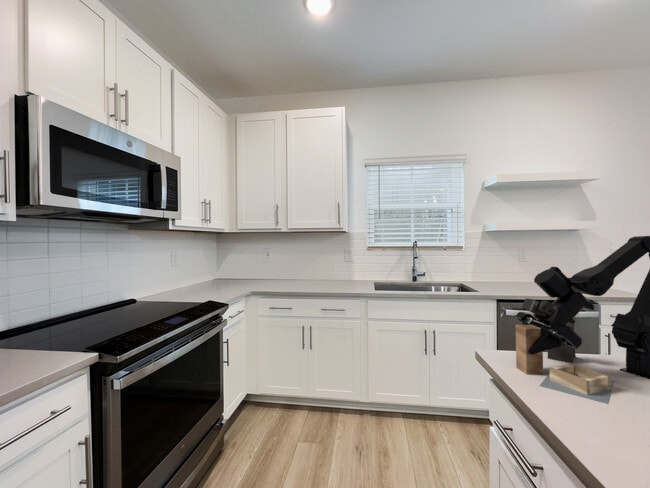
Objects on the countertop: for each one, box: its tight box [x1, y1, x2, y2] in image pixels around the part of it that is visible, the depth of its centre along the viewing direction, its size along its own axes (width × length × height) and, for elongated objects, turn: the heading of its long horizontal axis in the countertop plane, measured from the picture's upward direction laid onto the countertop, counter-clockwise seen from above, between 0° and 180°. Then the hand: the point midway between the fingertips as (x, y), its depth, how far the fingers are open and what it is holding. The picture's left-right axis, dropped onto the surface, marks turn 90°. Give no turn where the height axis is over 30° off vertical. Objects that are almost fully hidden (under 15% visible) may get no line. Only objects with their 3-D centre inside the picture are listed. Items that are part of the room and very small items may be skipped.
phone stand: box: [547, 323, 577, 364], centre depth 95 cm, size 9×6×12 cm, turn 136°
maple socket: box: [549, 363, 612, 395], centre depth 76 cm, size 8×8×3 cm
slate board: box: [538, 372, 615, 405], centre depth 76 cm, size 16×12×1 cm
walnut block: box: [515, 324, 544, 375], centre depth 85 cm, size 4×4×13 cm
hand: (523, 350), depth 85 cm, fingers closed on walnut block, 4 cm apart
